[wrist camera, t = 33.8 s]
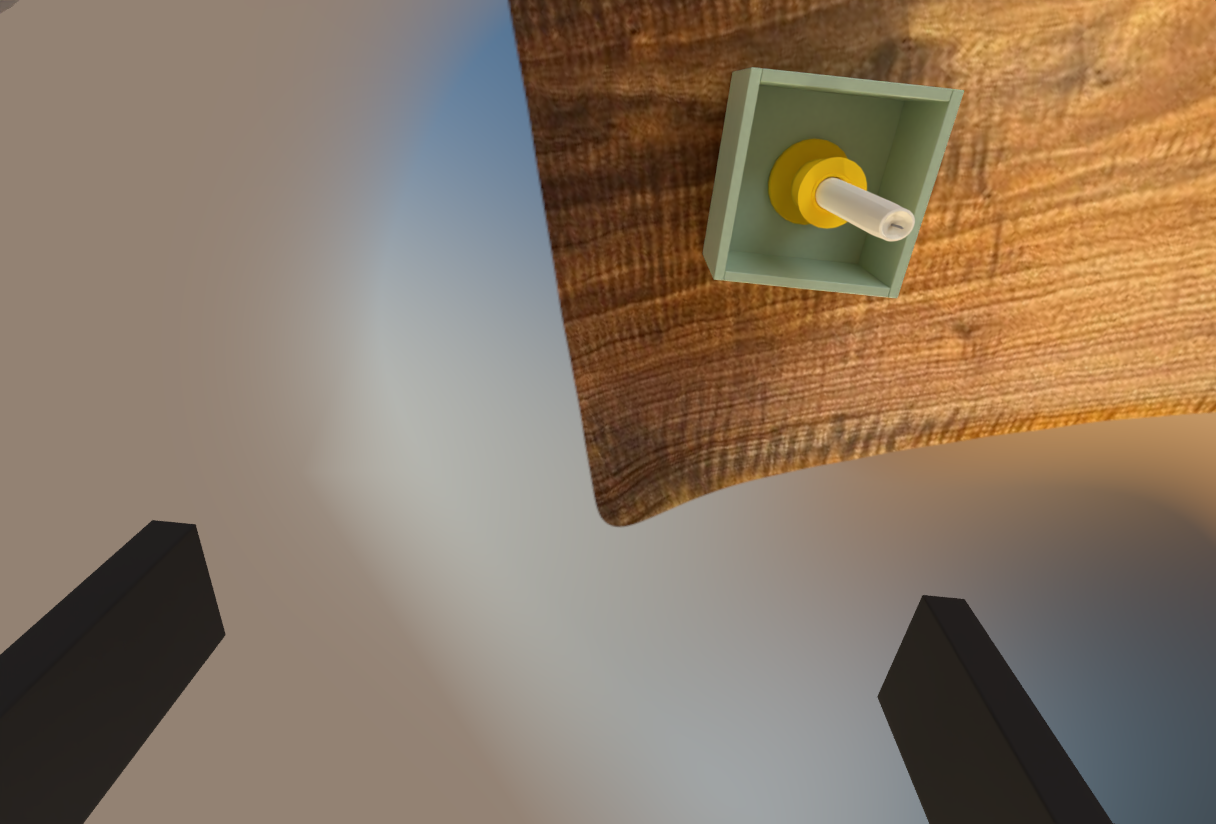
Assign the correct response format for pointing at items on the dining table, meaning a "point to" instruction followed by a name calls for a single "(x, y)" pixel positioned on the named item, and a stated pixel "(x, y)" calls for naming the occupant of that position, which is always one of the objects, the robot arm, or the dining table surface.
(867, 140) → the box
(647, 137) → the dining table surface
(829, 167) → the candle
